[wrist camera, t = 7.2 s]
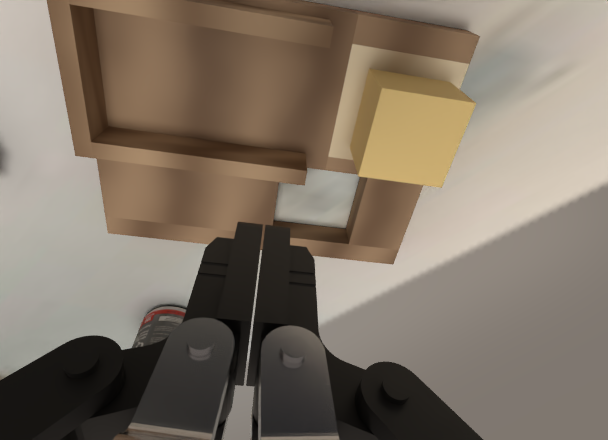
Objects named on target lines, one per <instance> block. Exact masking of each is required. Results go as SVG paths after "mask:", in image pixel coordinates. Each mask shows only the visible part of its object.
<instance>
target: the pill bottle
mask: <svg viewBox="0 0 608 440" xmlns="http://www.w3.org/2000/svg"><path fill="white" fill-rule="evenodd" d="M185 312H186V309H183V308H179V307H174V306H165V307H159V308H156V309H154V310H152V311H151V312H149V313H148V314H147V315H146V316H145V318H144V320H143V322H142V324H141V326H140V329H139V331H138V334H137V336H136V339H135V341H134V344H133V346H132V348H136V347H141V346H146V345H150V344H154V343H157V342H159V341H161V340H163V339H165V338H167V337H168V336H169V335H170V333H171V332H172V331H173V330H174V329H175V328H176V327H177V326H178V325H180V324H181V323H182V321H183V319H184V316H185Z"/></svg>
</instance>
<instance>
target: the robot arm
mask: <svg viewBox="0 0 608 440" xmlns="http://www.w3.org/2000/svg"><path fill="white" fill-rule="evenodd" d="M262 230H263V224H255V223H247V222H238V223H237V227H236V232H235V236H234V239H231V238H222V237H216V238H215V239H214V240H213V241H212V242H211V243H210V244H209V245H208V246H207V247H206V248H205V251H204V255H203V258H202V261H201V264H200V268H199V271H198V275H197V277H196V280H195V284H194V287H193V290H192V293H191V296H190V300H189V303H188V306H187V309H186V312H185V316H184V319H183V321H182V323H181V324H180V325H178V326H177V327H176V328H175V329H174V330H173V331H172V332H171V333H170V335H169V336H168V337H167V338H165V339H163V340H161V341H159V342H157V343H154V344H150V345H146V346H141V347H136V348H130V349H125V350H121V348H120V346H119V345H118V344H117V343H116V342H115V341H113V340H111V339H109V338H107V337H103V336H84V337H80V338H76V339H74V340H71V341H69V342H67V343H65V344H63V345H61V346H59V347H58V348H56V349H54V350H52V351H51V352H49V353H47V354H45V355H44V356H42V357H40V358H38V359H37V360H35V361H33V362H31V363H30V364H28V365H26V366H25V367H23V368H21V369H19V370H18V371H16V372H14V373H12V374H11V375H9V376H7V377H5V378H4V379H2V380H0V440H223V439H224V434H225V429H226V425H227V421H228V415H229V413H230V411H231V408H232V403H233V396H234V389H235V385H241V386H243V385H244V377H245V368H246V361H247V353H248V345H249V337H250V329H251V321H252V313H253V305H254V297H255V288H256V280H257V272H258V264H259V255H260V247H261V238H262ZM246 385H247V386H255V388H254V397H253V407H252V414H251V426H250V440H483V439H482V438H481V437H480V436H479V435H478V434H477V433H476V432H475V431H474V430H472V428H470V427H469V426H468V425H467V424H466V423H465V422H464V421H463V420H462V419H461V418H460V417H459V416H458V415H457V414H456V413H455V412H454V411H452V409H450V407H448V406H447V405H446V404H445V403H444V402H443V401H442V400H441V399H440V398H439V397H438V396H437V395H436V394H435V393H434V392H433V391H432V390H431V389H430V388H428V387H427V386H426V385H425V384H424V383H423V382H422V381H421V380H420V379H419V378H418V377H417V376H416V375H415V374H414V373H412V372H411V371H410V370H408V369H407V368H405V367H403V366H401V365H399V364H396V363H392V362H378V363H375V364H373V365H371V366H369V367H368V368H367V369H366V370H364V369H362V368H359V367H357V366H354V365H352V364H349V363H346V362H344V361H342V360H340V359H338V358H337V357H335V356H334V355H333V354H331V353H330V352H329V351H328V350H327V348H326V347H325V346H324V345H323V343H322V341H321V339H320V336H319V331H318V315H317V297H316V280H315V263H314V258H313V257H312V255H311V253H310V252H309V250H308V249H307V247H302V246H294V245H290V227H281V226H273V225H265V232H264V240H263V248H262V257H261V265H260V273H259V281H258V290H257V298H256V307H255V315H254V324H253V332H252V341H251V349H250V358H249V366H248V375H247V384H246Z"/></svg>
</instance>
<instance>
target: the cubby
mask: <svg viewBox="0 0 608 440" xmlns="http://www.w3.org/2000/svg"><path fill="white" fill-rule="evenodd" d="M47 4H48V10H49V15H50V20H51V26H52V31H53V37H54V42H55V47H56V53H57V58H58V64H59V69H60V75H61V80H62V85H63V91H64V96H65V102H66V107H67V112H68V118H69V123H70V129H71V134H72V140H73V145H74V150H75V156H81V157H89V158H96V159H104V160H112V161H120V162H127V163H135V164H143V165H151V166H158V167H166V168H174V169H181V170H189V171H197V172H205V173H212V174H220V175H228V176H236V177H243V178H251V179H259V180H266V181H274V182H282V183H290V184H297V185H305V180H306V174H307V162H306V154H305V153H298V152H291V151H283V150H276V149H269V148H262V147H255V146H247V145H240V144H233V143H226V142H218V141H211V140H204V139H197V138H190V137H182V136H175V135H168V134H161V133H154V132H146V131H139V130H132V129H125V128H117V127H110V126H108V121H107V113H106V105H105V97H104V89H103V81H102V74H101V66H100V58H99V50H98V42H97V34H96V26H95V19H94V11H93V8H95V9H101V10H107V11H113V12H118V13H124V14H130V15H136V16H142V17H148V18H154V19H160V20H166V21H172V22H177V23H183V24H189V25H195V26H201V27H207V28H213V29H219V30H225V31H230V32H236V33H242V34H248V35H254V36H260V37H266V38H272V39H278V40H283V41H289V42H295V43H301V44H307V45H313V46H319V47H325V48H330V44H331V39H332V33H333V28H334V26H333V25H332V23H331V21H330V20H329V19H323V18H318V17H312V16H306V15H301V14H295V13H290V12H284V11H278V10H273V9H267V8H261V7H256V6H250V5H245V4H239V3H233V2H228V1H222V0H47Z"/></svg>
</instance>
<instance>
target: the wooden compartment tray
mask: <svg viewBox="0 0 608 440" xmlns="http://www.w3.org/2000/svg"><path fill="white" fill-rule="evenodd" d="M222 1H228V2H233V3H239V4H245V5H250V6H256V7H261V8H267V9H273V10H278V11H284V12H290V13H295V14H301V15H306V16H312V17H318V18H323V19H329V20H330V21H331V23H332V25H333V26H334V28H333V33H332V39H331V44H330V48H325V47H319V46H313V45H307V44H301V43H295V42H289V41H283V40H278V39H272V38H266V37H260V36H254V35H248V34H242V33H236V32H230V31H225V30H219V29H213V28H207V27H201V26H195V25H189V24H183V23H177V22H172V21H166V20H160V19H154V18H148V17H142V16H136V15H130V14H124V13H118V12H113V11H107V10H101V9H95V8H93V11H94V19H95V26H96V34H97V42H98V50H99V58H100V66H101V74H102V81H103V89H104V97H105V105H106V113H107V121H108V126H110V127H117V128H125V129H132V130H139V131H146V132H154V133H161V134H168V135H175V136H182V137H190V138H197V139H204V140H211V141H218V142H226V143H233V144H240V145H247V146H255V147H262V148H269V149H276V150H283V151H291V152H298V153H305V154H306V162H307V168H314V169H321V170H328V171H336V172H343V173H351V174H357V170H356V167H355V164H354V160H353V157H352V154H351V150H350V144H351V140H352V136H353V132H354V128H355V124H356V120H357V116H358V112H359V108H360V103H361V99H362V95H363V91H364V87H365V83H366V79H367V75H368V71H369V69H375V70H381V71H387V72H393V73H399V74H405V75H411V76H417V77H423V78H429V79H435V80H441V81H447V82H451V83H452V84H453V85H454V86H456V87H457V88H458V89H459V90H460V87H461V85H462V82H463V79H464V77H465V74H466V71H467V69H468V66H469V64H470V61H471V58H472V56H473V53H474V50H475V48H476V45H477V43H478V40H479V37H480V36H478V35H476V34H474V33H471V32H469V31H467V30H462V29H456V28H451V27H445V26H440V25H434V24H429V23H423V22H418V21H412V20H407V19H401V18H396V17H390V16H385V15H379V14H374V13H368V12H363V11H357V10H352V9H346V8H341V7H335V6H330V5H324V4H319V3H313V2H308V1H302V0H222ZM97 164H98V171H99V177H100V184H101V190H102V197H103V203H104V210H105V217H106V223H107V230H108V233H111V234H120V235H129V236H139V237H148V238H157V239H166V240H175V241H184V242H193V243H202V244H210V243H211V242H212V241H213V240H214V239H215V238H216V237H222V238H231V239H234V236H235V232H236V227H237V223H238V222H247V223H255V224H263V230H262V238H261V247H260V250H262V248H263V240H264V232H265V225H273V226H281V227H290V245H294V246H302V247H307V249H308V250H309V252H310V253H311V255H312V256H321V257H330V258H339V259H348V260H357V261H367V262H376V263H385V264H393V263H394V261H395V258H396V256H397V253H398V250H399V248H400V245H401V242H402V240H403V237H404V234H405V232H406V229H407V227H408V224H409V221H410V219H411V216H412V213H413V211H414V208H415V206H416V203H417V200H418V198H419V195H420V192H421V190H422V187H423V185H419V184H411V183H404V182H396V181H389V180H382V179H374V178H367V177H360V179H359V183H358V187H357V190H356V194H355V198H354V201H353V205H352V209H351V212H350V216H349V220H348V223H347V227H346V229H340V228H332V227H324V226H315V225H307V224H298V223H290V222H281V221H273V220H274V213H275V206H276V199H277V192H278V185H279V182H274V181H266V180H259V179H251V178H243V177H236V176H228V175H220V174H212V173H205V172H197V171H189V170H181V169H174V168H166V167H158V166H151V165H143V164H135V163H127V162H120V161H112V160H104V159H97Z"/></svg>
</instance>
